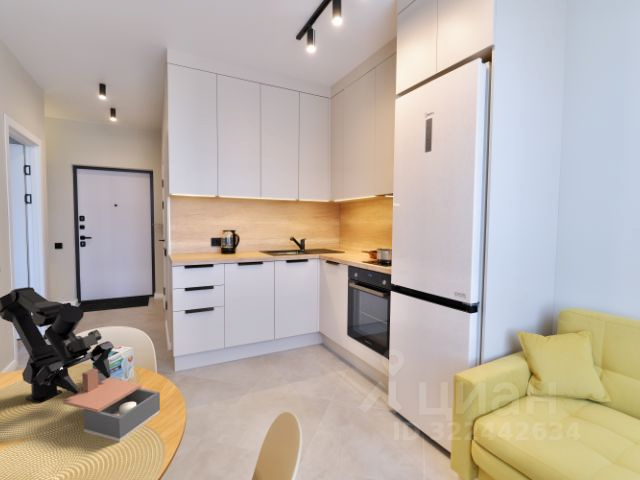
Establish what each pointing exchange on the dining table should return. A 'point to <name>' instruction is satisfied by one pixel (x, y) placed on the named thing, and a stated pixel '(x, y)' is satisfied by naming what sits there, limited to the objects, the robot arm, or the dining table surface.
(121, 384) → the lid
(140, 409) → the carton
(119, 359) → the light bulb box
